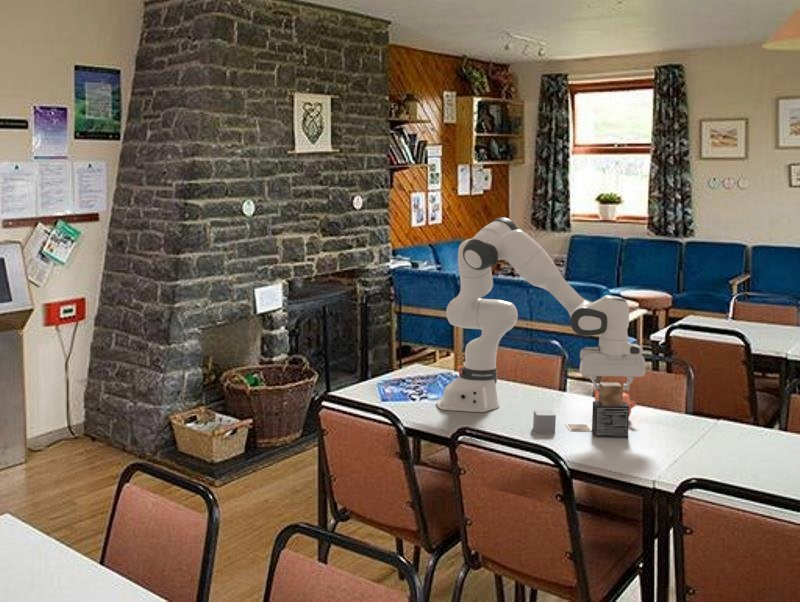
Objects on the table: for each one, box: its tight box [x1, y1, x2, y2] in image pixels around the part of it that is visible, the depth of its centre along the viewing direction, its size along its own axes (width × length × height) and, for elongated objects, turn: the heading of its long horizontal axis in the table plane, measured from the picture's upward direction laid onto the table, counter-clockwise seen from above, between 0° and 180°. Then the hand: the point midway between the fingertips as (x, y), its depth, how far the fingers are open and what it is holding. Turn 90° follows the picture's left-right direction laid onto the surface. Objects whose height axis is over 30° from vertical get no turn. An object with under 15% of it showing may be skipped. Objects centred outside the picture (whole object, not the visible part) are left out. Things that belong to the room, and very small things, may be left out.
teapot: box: [591, 386, 637, 417], centre depth 275 cm, size 14×12×10 cm
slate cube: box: [532, 409, 557, 434], centre depth 260 cm, size 6×6×6 cm
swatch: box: [565, 423, 592, 432], centre depth 264 cm, size 7×7×1 cm
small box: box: [591, 400, 630, 439], centre depth 256 cm, size 11×6×10 cm, turn 87°
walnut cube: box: [598, 381, 624, 406], centre depth 255 cm, size 6×6×6 cm
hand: (611, 389), depth 255 cm, fingers open, 8 cm apart
